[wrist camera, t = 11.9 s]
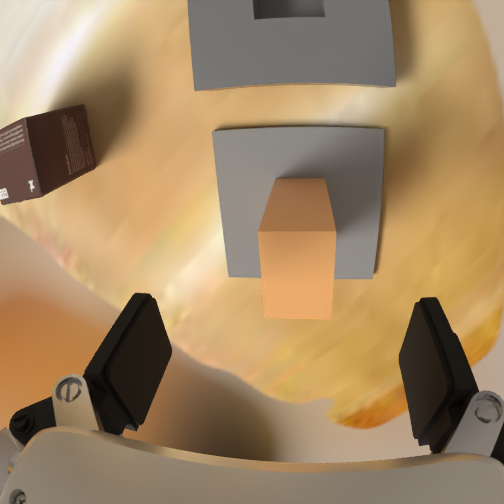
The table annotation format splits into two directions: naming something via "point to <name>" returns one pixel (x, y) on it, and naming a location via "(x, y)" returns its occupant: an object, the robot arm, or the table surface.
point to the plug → (297, 250)
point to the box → (43, 153)
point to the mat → (301, 166)
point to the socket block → (291, 43)
